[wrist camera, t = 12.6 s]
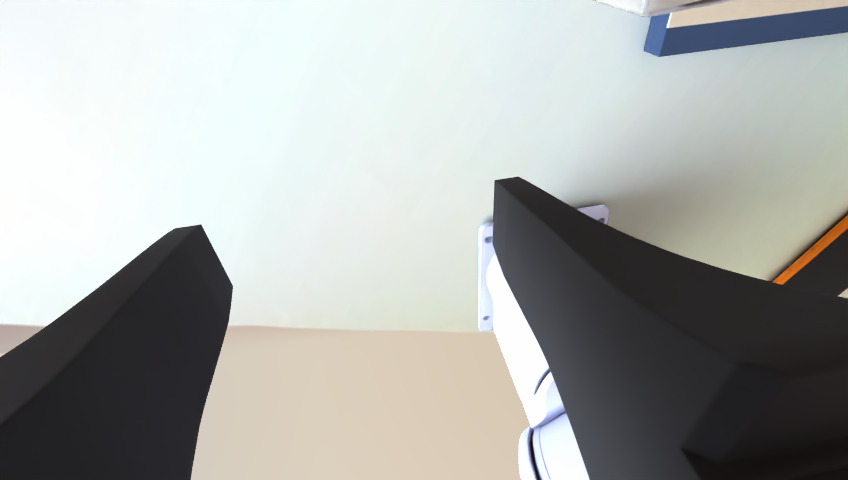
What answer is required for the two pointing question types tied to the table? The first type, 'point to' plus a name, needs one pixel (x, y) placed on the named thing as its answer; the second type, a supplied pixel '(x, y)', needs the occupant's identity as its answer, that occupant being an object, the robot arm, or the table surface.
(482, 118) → the table surface
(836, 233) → the smartphone
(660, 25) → the towel
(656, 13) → the box
